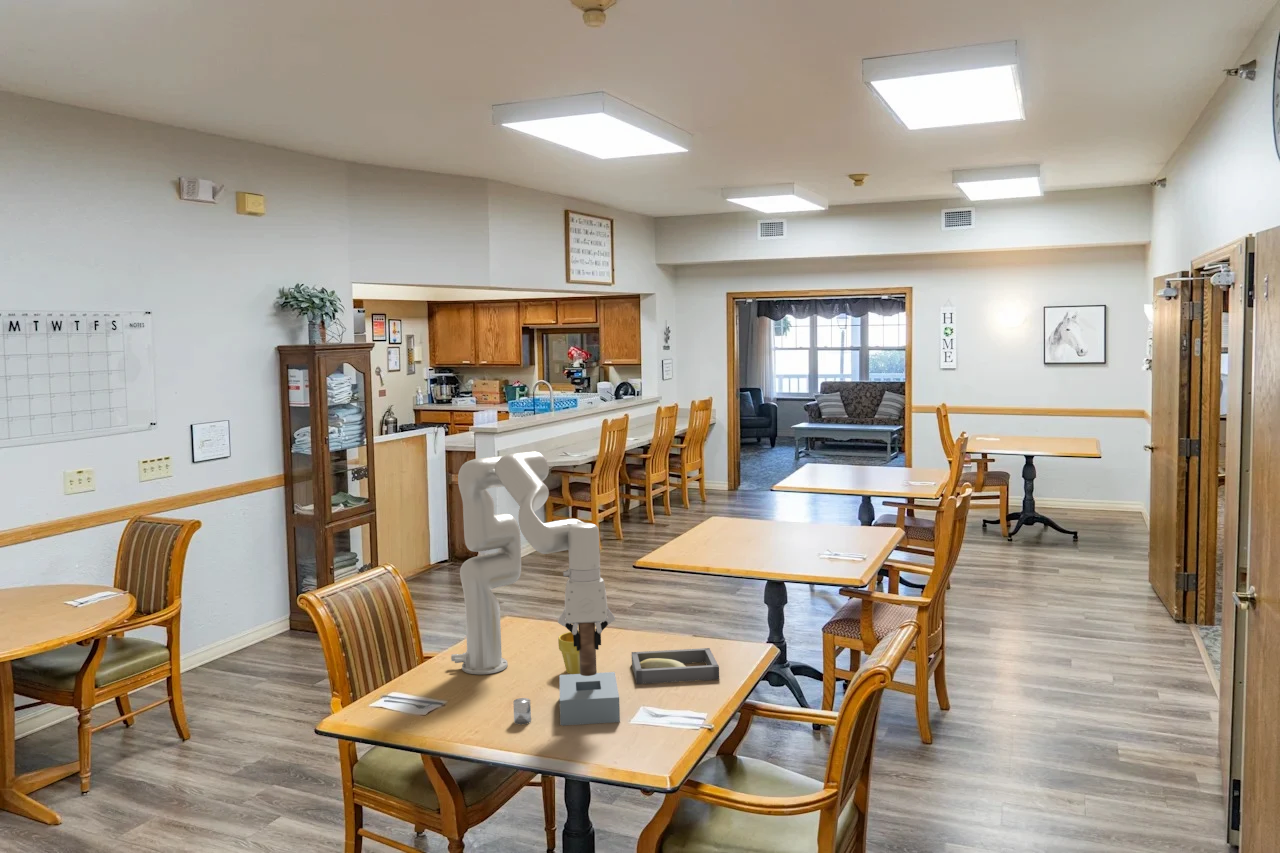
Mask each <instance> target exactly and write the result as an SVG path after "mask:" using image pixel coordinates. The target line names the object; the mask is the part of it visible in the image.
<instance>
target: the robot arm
mask: <svg viewBox="0 0 1280 853" xmlns="http://www.w3.org/2000/svg"><path fill="white" fill-rule="evenodd" d="M549 472H550V468H549V463H548V460H547V459H546V457H545V456H544V455H543V454H542V453H541V452H538V451H531V450H530V451H524V452H522V451H521V452H514V453H513V452H512V453H509V454H505V455H499V456H487V457H486V456H485V457H480V458H474V459H471V460H468V461H466V462H464V463H463V464H462V465H461V466H460V468H459V470H458V476H457V484H458V488H459V493H460V496H461V500H462V507H463V508H462V512H463V513H462V514H463V517H462V518H463V536H464V544H465V546H466V548H467V550H469V551H471V552H474V553H475V552H476V553H478V552H480V553H482V552H486V551H487V552H488V551H492V550H496V549H497V552H493V553H487V554H482V555H477V556H473V557H471V558H468V559H467V560H465V561H464V562H463V563H462V564H461V567H460V568H459V576H460V577H459V578H460V582H461V585H462V590H463V596H464V598H463V599H464V610H465V611H464V612H465V630H466V631H465V632H466V633H465V634H466V636H465V637H466V651H465V652H463V653H461V654H458V653H455V654H454V653H453V654H450V655H451V656H450V659H451V662H454V663H455V664H461V663H462V665H461V669H462V671H463V672H465V673H466V674H471V675H491V674H495V673H499V672H501V671H503V670H505V669H507V667H508V660H507V659H505V658H503V656H502V655H503V654H502V653H503V652H502V633H501V632H502V631H501V630H502V628H501V606H500V605H501V604H500V602H499V600H498V598H497V597H496V596H495V594H494V593H493V591H492V590H493V589H497V588H501V587H504V586H505V587H506V586H509V585H513V584H515V583H516V582H517V581H518V580H519V579H520V577H521V573H522V547H521V546H522V545H521V543H522V542H521V533H522V535H523V537H524V538H525V540H526V541H527V543H529V545H530V546H531V547H532V548H533V549H534V550H535V551H536V552H537V553H539V554H543V555H548V554H553V553H558V552H563V551H568V569H567V570H563V572H562V573H563V577H566V578H568V579H567V581H566V582H565V583H566V584H565V593H564V609H563V611H562V612H561V614H560V616H559V617H558V619H557V624H560V625H561V626H563V627H564V628H566V629H567V630H568V632H571V633H572V634H573V641H574V647H576V646H577V651H579V650H580V645H579V632H578V631H579V627H578V623H593V622H595V648H596V651H598V650H599V646H602V632H603V631H604V629H606V627H608V626H609V625H610V624H612V623H614V622H615V620H616V617H615V615H614V614H613V612H612V611H611V610H610V607H608V601H607V600H608V598H607V591H606V584H605V581H604V578H602V577H601V554H600V552H601V551H600V530H599V527H598V526H597V524H596V523H595V524H594V523H592V522H585V521H582V520H580V519H577V518H567V519H566V518H565V519H558V520H553V521H547V522H542V520H541V519H540V518H539V517H538V516H537V515H536V512H537V511H538V510H540V509H541V508H542V507H543V506H544V505H545V503H546V502H547V500H548V498H549V496H550V491H549V488H548V486H547V485H546V484H545V483H544V481H545V480H546V479H547V477H548V475H549ZM502 487H504V488H505V489H506V490H507V492H508V493H509V494H510V495H511V497H512V498H513V500H514V501H515V502H516V503H517V505H518V506H519V509H518V513H517V515H518V516H517V517H518V521H517V520H516V518H515V517H514V516H513V515H512V514H509V513H497V514H495V502H494V498H493V496H492V495H491V493H490V491H489V490H488V489H495V488H502Z"/></svg>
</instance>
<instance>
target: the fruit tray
mask: <svg viewBox="0 0 1280 853" xmlns="http://www.w3.org/2000/svg"><path fill="white" fill-rule="evenodd" d="M650 658H662V659H672V660H676V661H679V662H681V663H683V664H693V663H692V662H700V663H705V662H706V663H705V664H707V665H693V666H691V665H687V666H686V667H668V668H650V669H641V666H640V662H641V661H643V660H646V659H650ZM631 667H632V670H633V671H632V672H633V674H634V680H635V683H636V685H646V684H647V683H648V684H665V683H664V682H666V683H680V682H679V681H684V682H696V681H695V680H702V681H716V680H715V679H719V680H720V666H719V664H718V662H717V660H716V658H715V656H714V654H713V653H712V650H711V648H710V647H707V648H705V647H704V648H684V649H668V650H650V651H631ZM712 679H713V680H712ZM648 684H647V685H648Z"/></svg>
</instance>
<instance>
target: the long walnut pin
mask: <svg viewBox="0 0 1280 853" xmlns="http://www.w3.org/2000/svg"><path fill="white" fill-rule="evenodd" d="M595 629H596V625H595V622H593V623H578V631H579V645H580V650H579V655H580V674H581V675H583V676H592V675H595V674H596V673H598V672H597V652H596V651H597V650H596V648H595Z"/></svg>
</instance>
